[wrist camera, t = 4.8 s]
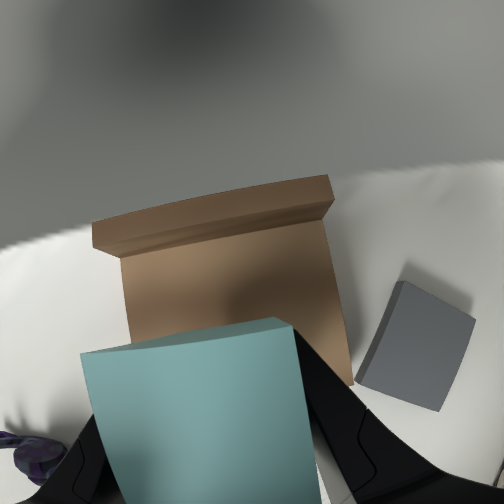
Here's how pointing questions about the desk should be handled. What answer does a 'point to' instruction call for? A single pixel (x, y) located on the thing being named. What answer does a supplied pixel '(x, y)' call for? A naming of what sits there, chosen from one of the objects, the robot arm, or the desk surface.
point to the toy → (34, 455)
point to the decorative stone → (501, 480)
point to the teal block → (206, 417)
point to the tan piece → (232, 264)
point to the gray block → (416, 348)
